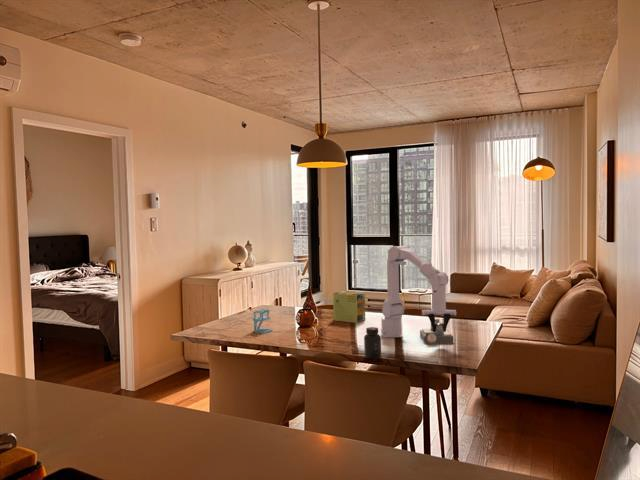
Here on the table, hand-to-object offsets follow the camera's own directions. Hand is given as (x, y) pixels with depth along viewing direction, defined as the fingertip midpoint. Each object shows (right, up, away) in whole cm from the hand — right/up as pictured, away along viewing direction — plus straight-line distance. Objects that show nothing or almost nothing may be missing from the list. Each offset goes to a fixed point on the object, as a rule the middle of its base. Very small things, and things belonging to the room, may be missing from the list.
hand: (439, 331), depth 214 cm
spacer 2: (0, -2, 0) cm, 2 cm away
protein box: (-36, -6, +62) cm, 72 cm away
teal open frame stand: (-82, -7, +36) cm, 90 cm away
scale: (+2, -6, +12) cm, 14 cm away
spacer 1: (+2, -2, +16) cm, 16 cm away
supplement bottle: (-31, -8, -15) cm, 35 cm away
